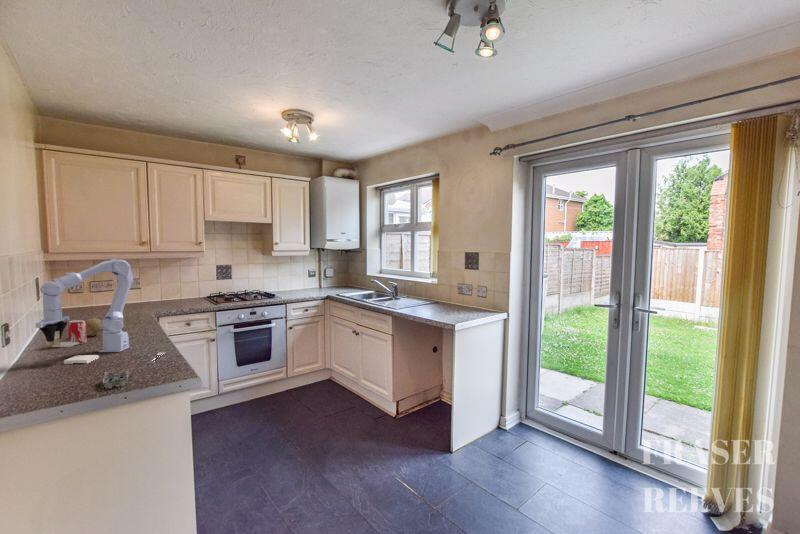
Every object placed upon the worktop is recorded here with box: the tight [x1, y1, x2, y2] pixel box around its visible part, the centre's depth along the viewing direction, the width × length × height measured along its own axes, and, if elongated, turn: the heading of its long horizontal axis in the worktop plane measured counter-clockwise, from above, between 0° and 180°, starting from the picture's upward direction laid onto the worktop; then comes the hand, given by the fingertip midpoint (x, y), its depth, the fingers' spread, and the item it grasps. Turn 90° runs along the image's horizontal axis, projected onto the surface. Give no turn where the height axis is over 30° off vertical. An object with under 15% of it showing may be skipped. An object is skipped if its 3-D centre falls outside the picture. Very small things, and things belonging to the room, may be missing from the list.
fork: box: [151, 351, 165, 361], centre depth 155 cm, size 3×20×2 cm, turn 15°
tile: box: [63, 354, 100, 365], centre depth 155 cm, size 2×7×9 cm
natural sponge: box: [84, 317, 103, 337], centre depth 195 cm, size 9×9×10 cm
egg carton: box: [102, 370, 130, 388], centre depth 132 cm, size 11×8×4 cm
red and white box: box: [67, 319, 88, 346], centre depth 180 cm, size 7×7×12 cm
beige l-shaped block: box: [45, 331, 79, 348], centre depth 153 cm, size 10×5×6 cm, turn 97°
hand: (54, 340), depth 153 cm, fingers closed on beige l-shaped block, 3 cm apart
